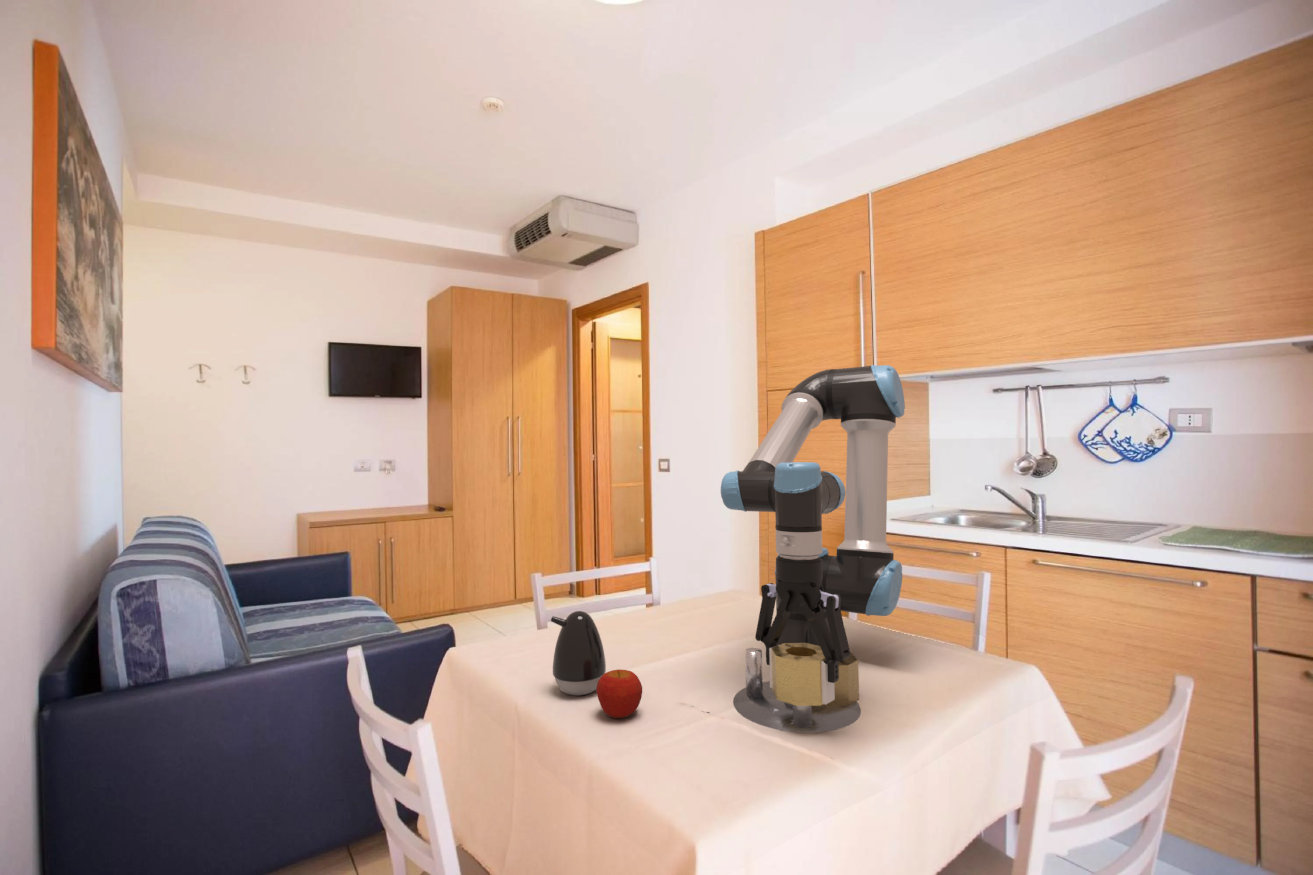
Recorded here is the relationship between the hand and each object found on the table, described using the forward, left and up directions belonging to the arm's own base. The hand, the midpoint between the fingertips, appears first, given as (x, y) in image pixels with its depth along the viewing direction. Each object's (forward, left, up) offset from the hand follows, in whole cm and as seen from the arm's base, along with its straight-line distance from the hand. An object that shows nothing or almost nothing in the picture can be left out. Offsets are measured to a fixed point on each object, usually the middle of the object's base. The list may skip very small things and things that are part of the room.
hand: (801, 692), depth 101 cm
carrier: (-5, +6, -6) cm, 10 cm away
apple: (-26, -17, -6) cm, 32 cm away
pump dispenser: (-40, -15, -6) cm, 43 cm away
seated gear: (-2, +14, -5) cm, 15 cm away
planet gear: (0, 0, 0) cm, 0 cm away
